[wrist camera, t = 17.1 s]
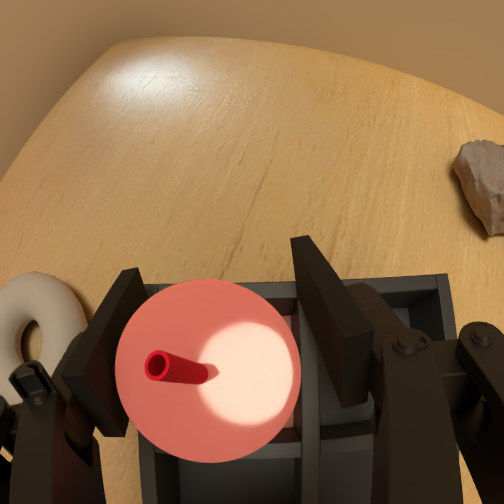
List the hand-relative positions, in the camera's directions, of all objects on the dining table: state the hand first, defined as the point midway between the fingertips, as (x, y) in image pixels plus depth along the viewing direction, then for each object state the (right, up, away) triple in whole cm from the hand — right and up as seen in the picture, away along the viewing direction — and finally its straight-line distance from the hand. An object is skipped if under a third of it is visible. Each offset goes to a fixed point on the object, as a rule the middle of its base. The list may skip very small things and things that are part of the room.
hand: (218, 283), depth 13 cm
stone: (+22, +5, +8) cm, 24 cm away
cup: (0, -5, +3) cm, 6 cm away
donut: (-13, -5, +5) cm, 15 cm away
